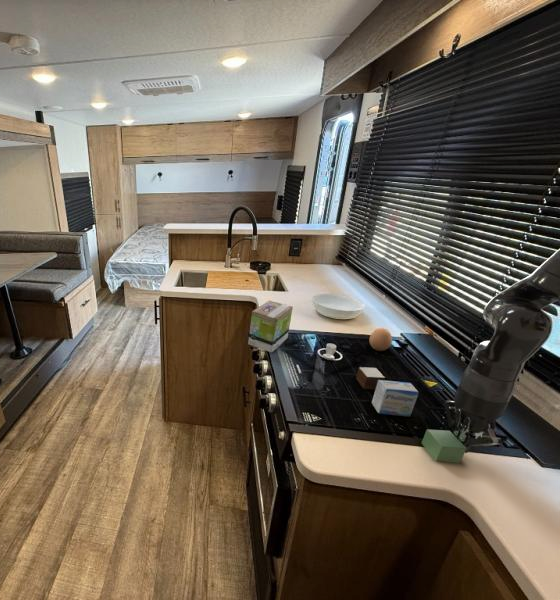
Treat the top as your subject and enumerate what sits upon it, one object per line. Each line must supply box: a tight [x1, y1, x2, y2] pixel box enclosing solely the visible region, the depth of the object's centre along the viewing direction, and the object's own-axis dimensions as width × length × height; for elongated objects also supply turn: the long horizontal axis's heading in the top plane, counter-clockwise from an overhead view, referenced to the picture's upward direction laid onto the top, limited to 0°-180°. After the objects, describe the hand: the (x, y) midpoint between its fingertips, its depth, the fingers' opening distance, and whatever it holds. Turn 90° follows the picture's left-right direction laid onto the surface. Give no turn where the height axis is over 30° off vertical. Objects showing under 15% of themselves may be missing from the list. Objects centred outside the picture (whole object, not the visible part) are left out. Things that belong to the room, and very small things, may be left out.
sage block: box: [421, 429, 467, 463], centre depth 71 cm, size 5×5×5 cm
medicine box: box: [371, 379, 420, 418], centre depth 84 cm, size 8×4×9 cm, turn 79°
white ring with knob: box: [317, 342, 343, 361], centre depth 110 cm, size 9×8×4 cm
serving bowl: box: [311, 293, 365, 320], centre depth 142 cm, size 21×21×7 cm
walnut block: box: [355, 366, 386, 390], centre depth 94 cm, size 5×5×5 cm
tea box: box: [247, 300, 294, 354], centre depth 118 cm, size 15×10×15 cm
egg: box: [368, 327, 393, 352], centre depth 112 cm, size 7×7×9 cm
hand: (458, 450), depth 71 cm, fingers closed
